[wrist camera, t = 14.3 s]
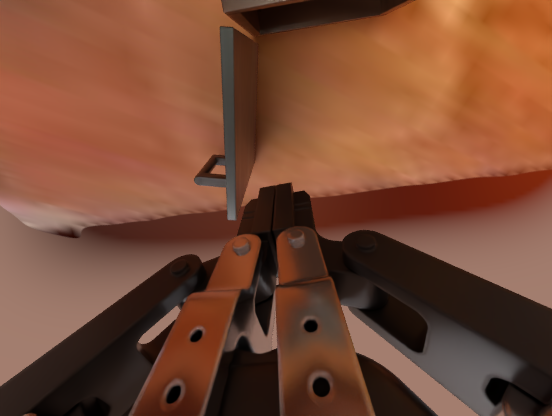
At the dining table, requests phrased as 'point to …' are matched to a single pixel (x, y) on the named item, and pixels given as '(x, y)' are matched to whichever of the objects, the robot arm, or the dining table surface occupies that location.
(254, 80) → the door
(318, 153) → the dining table surface
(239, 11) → the cupboard
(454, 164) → the dining table surface
